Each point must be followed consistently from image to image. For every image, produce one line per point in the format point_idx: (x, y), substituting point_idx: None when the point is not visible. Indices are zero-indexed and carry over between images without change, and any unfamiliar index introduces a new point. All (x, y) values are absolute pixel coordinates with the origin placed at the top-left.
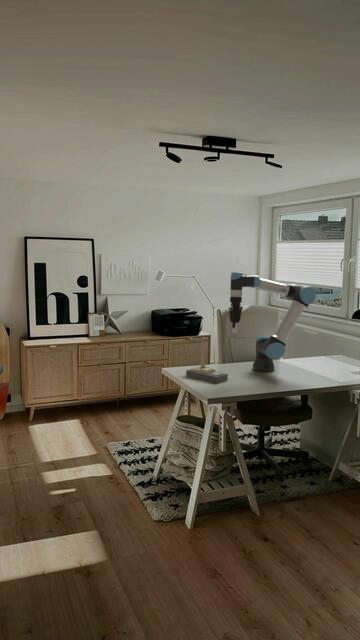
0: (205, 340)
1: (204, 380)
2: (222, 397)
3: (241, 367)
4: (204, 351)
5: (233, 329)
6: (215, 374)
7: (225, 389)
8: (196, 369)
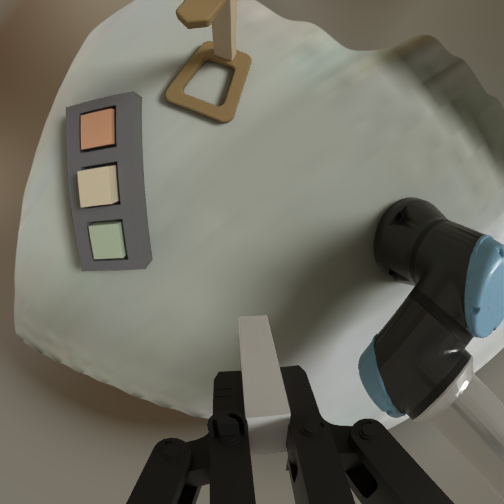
0: (178, 18)
1: None
2: (39, 352)
3: (386, 155)
4: (226, 25)
5: (240, 354)
6: (92, 249)
7: (76, 322)
8: (91, 129)
